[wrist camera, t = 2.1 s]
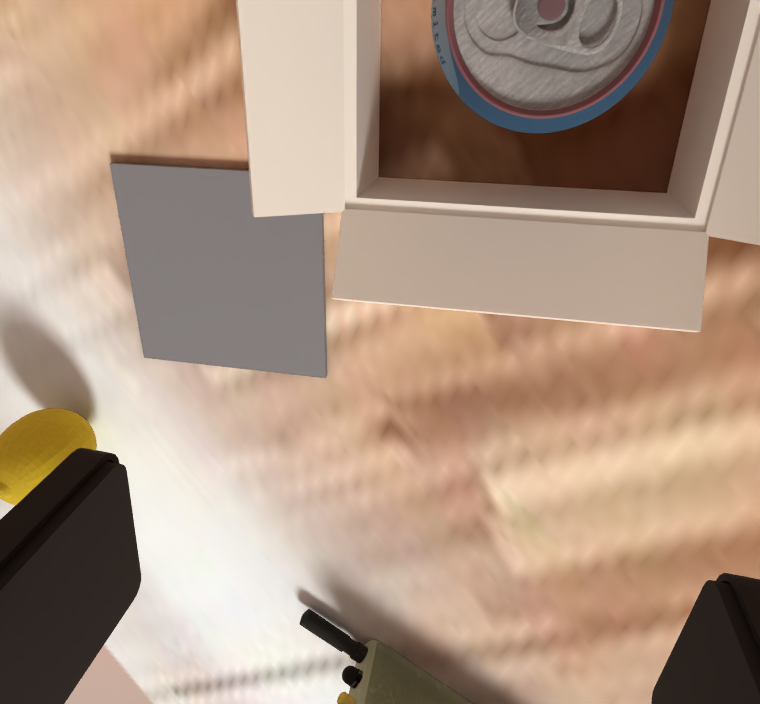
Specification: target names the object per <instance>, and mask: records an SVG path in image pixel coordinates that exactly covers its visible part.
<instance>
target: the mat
mask: <svg viewBox="0 0 760 704" xmlns="http://www.w3.org/2000/svg"><path fill="white" fill-rule="evenodd" d="M110 168H111V174H112V179H113V185H114V191H115V196H116V202H117V207H118V213H119V219H120V224H121V230H122V236H123V241H124V247H125V252H126V258H127V264H128V269H129V275H130V280H131V286H132V292H133V297H134V303H135V309H136V314H137V320H138V325H139V331H140V337H141V342H142V348H143V354H144V358H152V359H161V360H170V361H178V362H187V363H196V364H205V365H214V366H222V367H231V368H240V369H249V370H258V371H267V372H275V373H284V374H293V375H302V376H311V377H320V378H326V376H327V345H326V305H325V264H324V223H323V213H316V214H301V215H285V216H269V217H254V216H253V215H252V202H251V189H250V176H249V170H241V169H223V168H205V167H187V166H169V165H151V164H133V163H115V162H114V163H110Z"/></svg>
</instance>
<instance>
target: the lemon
mask: <svg viewBox="0 0 760 704" xmlns="http://www.w3.org/2000/svg"><path fill="white" fill-rule="evenodd" d="M96 447H97V443H96V437H95V434H94V431H93V429H92V427H91V426H90V424H89V423H88V422H87V421H86V420H85V419H84V418H83V417H81V416H80V415H79V414H77V413H75V412H73V411H70V410H66V409H61V408H47V409H42V410H39V411H35V412H32V413H30V414H27V415H25V416H24V417H22V418H20V419H19V420H18V421H16V422H15V423H13V424H12V425H10V426H9V427H8V428H7V429H6V430H5V431H4V432H3V433H2V434H1V435H0V499H2V500H4V501H5V502H8V503H10V504H13V505H17V504H18V503H19V502H20V501H21V500H22V499H23V498H24V497H25V496H26V495H27V494H28V493H29V492H30V491H32V490H33V489H34V488H35V487H36V486H37V485H38V484H39V483H40V482H41V481H42V480H43V479H44V478H45V477H46V476H48V475H49V474H50V473H51V472H52V471H53V470H54V469H55V468H56V467H57V466H58V465H59V464H60V463H61V462H62V461H63V460H65V459H66V458H67V457H68V456H69V455H70V454H71V453H72V452H73V451H75V450H76V449H78V448H87V449H92V450H96Z"/></svg>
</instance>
